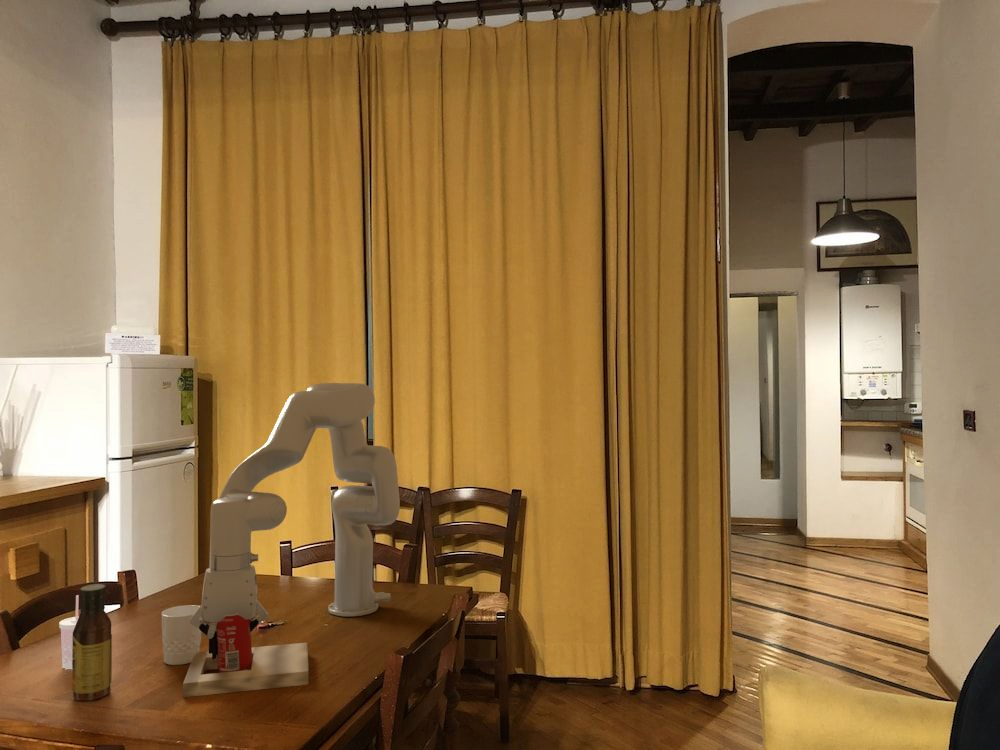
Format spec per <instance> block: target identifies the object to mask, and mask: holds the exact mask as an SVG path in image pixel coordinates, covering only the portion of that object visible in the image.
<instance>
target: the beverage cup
mask: <svg viewBox="0 0 1000 750" xmlns="http://www.w3.org/2000/svg"><path fill="white" fill-rule="evenodd" d="M79 596H80V594H77V595H75V616H73V617H68V618H65V619H62V620H60V621H59V623H58V626H59V629H60V637H61V640H60V641H61V659H62V660H61V663H62V664H61V666H62V669H63V668H65V669H64V670H67V669H72V649H73V639H72V638H73V631H74V628H75V625H76V623H77V620H78V618H79V600H80V599H79V598H80V597H79Z"/></svg>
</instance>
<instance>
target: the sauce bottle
mask: <svg viewBox="0 0 1000 750" xmlns="http://www.w3.org/2000/svg"><path fill="white" fill-rule="evenodd" d="M106 588H107V587H106V585H105V584H103V583H94V584H89V585H88V584H87V585H84V586H82V587H81V588H80V592H79V596H80V597H79V598H80V611H79V612H80V613H79V614H78V616H79V618H78V620H77V623H76V625H75V628H74V631H73V638H72V639H73V649H72V670H71V690H72V694H73V695H72V696H73V698H74V700H75V701H82V702H86V701H87V702H89V701H95V700H96V701H97V700H99V699H102V698H103V697H105V696H107V695H109V693H110V692H111V683H112V680H113V679H112V677H113V676H112V673H113V670H112V669H113V667H112V666H113V665H112V664H113V660H112V657H113V654H112V653H113V642H112V641H113V640H112V639H113V634H112V620H111V618H110V617H109V615H108V614H107V613H106V610H105V608H106V607H105V595H106V592H107V591H106V590H107V589H106Z"/></svg>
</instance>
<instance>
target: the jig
mask: <svg viewBox="0 0 1000 750" xmlns="http://www.w3.org/2000/svg"><path fill="white" fill-rule="evenodd" d="M308 654H309V653H308V642H300V643H299V642H296V643H287V644H286V643H285V644H277V645H265V646H262V645H261V646H254V647H253V646H252V665H251V667H250V668H251V669H248V670H244V671H234V672H223V673H221V672H217V673H216V672H215V673H206V671H209V670H218V660H217V657H216V658H215V659H212V654H209V650H207V651H199V652H195V653H194V656H193V659H192V661H191V662H190V663H189V666H188V670H187V672H186V675H185V678H184V680H183V682H182V698H191V697H200V696H210V695H218V694H219V695H220V694H228V693H239V692H247V691H249V692H250V691H257V690H258V691H259V690H267V689H277V688H288V687H297V686H306V685H308V686H309V655H308Z"/></svg>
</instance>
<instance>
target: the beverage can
mask: <svg viewBox="0 0 1000 750" xmlns="http://www.w3.org/2000/svg"><path fill="white" fill-rule="evenodd" d="M238 614H239V613H236V614H229V615H225V616H226V617H225V618H224V619H222V620H221V621H220V622H218V623H217V626H216V630H215V631H216V635H217V660H218V669H217V670H218V673H223V672H234V671H244V670H250V668H252V666H251V665H252V647H253V645H252V631H251V632H250V634H249V629H250V623H251V621H252V620H251V619H250V620H246V619H245V618H243V617H241V616H239V615H238Z"/></svg>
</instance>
